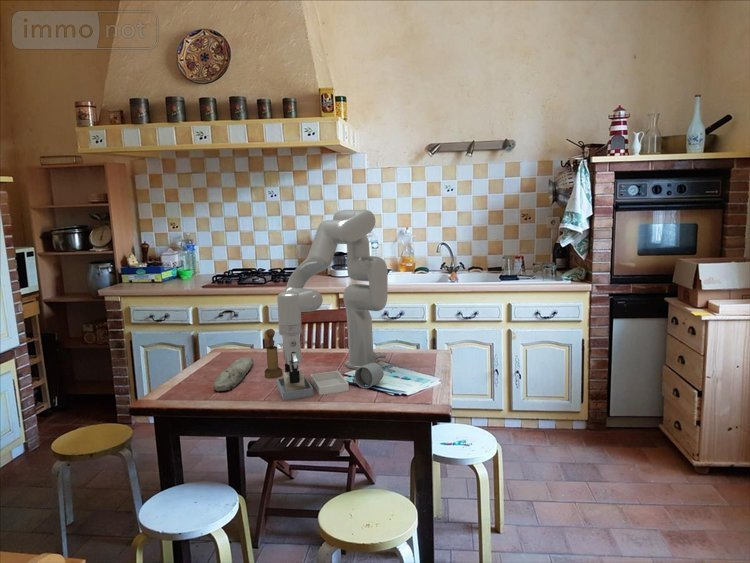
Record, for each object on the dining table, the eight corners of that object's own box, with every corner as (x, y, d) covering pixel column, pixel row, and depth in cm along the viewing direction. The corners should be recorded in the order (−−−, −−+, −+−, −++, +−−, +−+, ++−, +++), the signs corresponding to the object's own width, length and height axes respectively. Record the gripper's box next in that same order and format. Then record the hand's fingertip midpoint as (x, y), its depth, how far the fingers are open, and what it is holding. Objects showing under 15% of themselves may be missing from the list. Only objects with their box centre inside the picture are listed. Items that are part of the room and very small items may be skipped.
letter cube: (301, 386, 193) (300, 369, 192) (305, 392, 188) (304, 374, 187) (284, 389, 192) (283, 372, 191) (287, 395, 186) (286, 377, 185)
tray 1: (305, 383, 198) (304, 375, 198) (313, 397, 184) (313, 388, 184) (277, 387, 195) (276, 378, 195) (283, 401, 181) (282, 392, 181)
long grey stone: (259, 366, 227) (235, 368, 227) (258, 353, 226) (234, 355, 226) (236, 391, 192) (208, 394, 192) (235, 376, 191) (206, 379, 192)
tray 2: (338, 378, 202) (337, 370, 201) (348, 391, 188) (348, 383, 187) (310, 382, 199) (310, 374, 198) (319, 396, 185) (319, 387, 184)
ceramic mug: (385, 382, 195) (384, 361, 194) (373, 390, 188) (372, 368, 187) (360, 379, 201) (358, 358, 200) (347, 386, 194) (346, 364, 193)
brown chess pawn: (278, 379, 203) (275, 331, 201) (261, 379, 205) (258, 331, 202) (285, 373, 210) (281, 327, 207) (268, 373, 211) (265, 327, 208)
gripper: (306, 333, 179) (308, 384, 181) (296, 323, 196) (298, 370, 198) (282, 335, 177) (285, 387, 179) (275, 324, 193) (277, 372, 196)
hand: (292, 378), depth 188 cm, fingers open, 9 cm apart
